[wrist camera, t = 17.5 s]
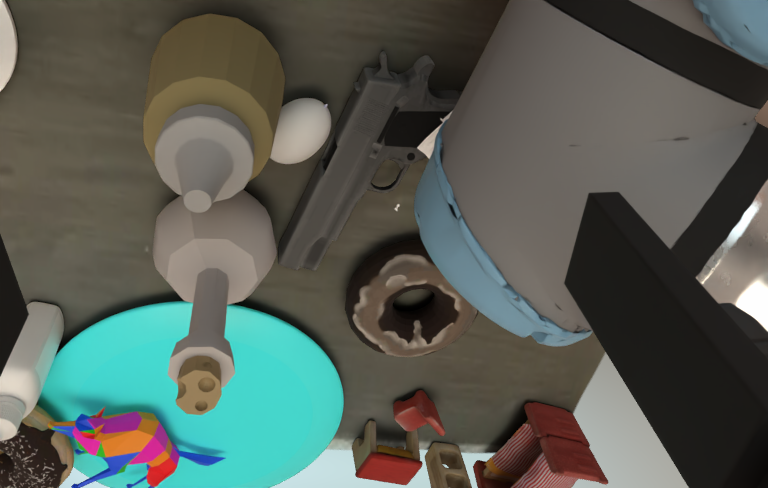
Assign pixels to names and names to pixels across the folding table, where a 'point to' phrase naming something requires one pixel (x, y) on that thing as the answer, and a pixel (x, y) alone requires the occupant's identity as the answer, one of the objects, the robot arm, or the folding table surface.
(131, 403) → the frisbee
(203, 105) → the squeeze bottle
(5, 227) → the folding table surface
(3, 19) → the panda figurine
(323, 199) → the handgun
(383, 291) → the donut
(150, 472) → the figurine
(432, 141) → the card
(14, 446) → the donut
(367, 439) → the dollhouse furniture set
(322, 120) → the egg
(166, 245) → the potion bottle
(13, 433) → the eye dropper bottle
